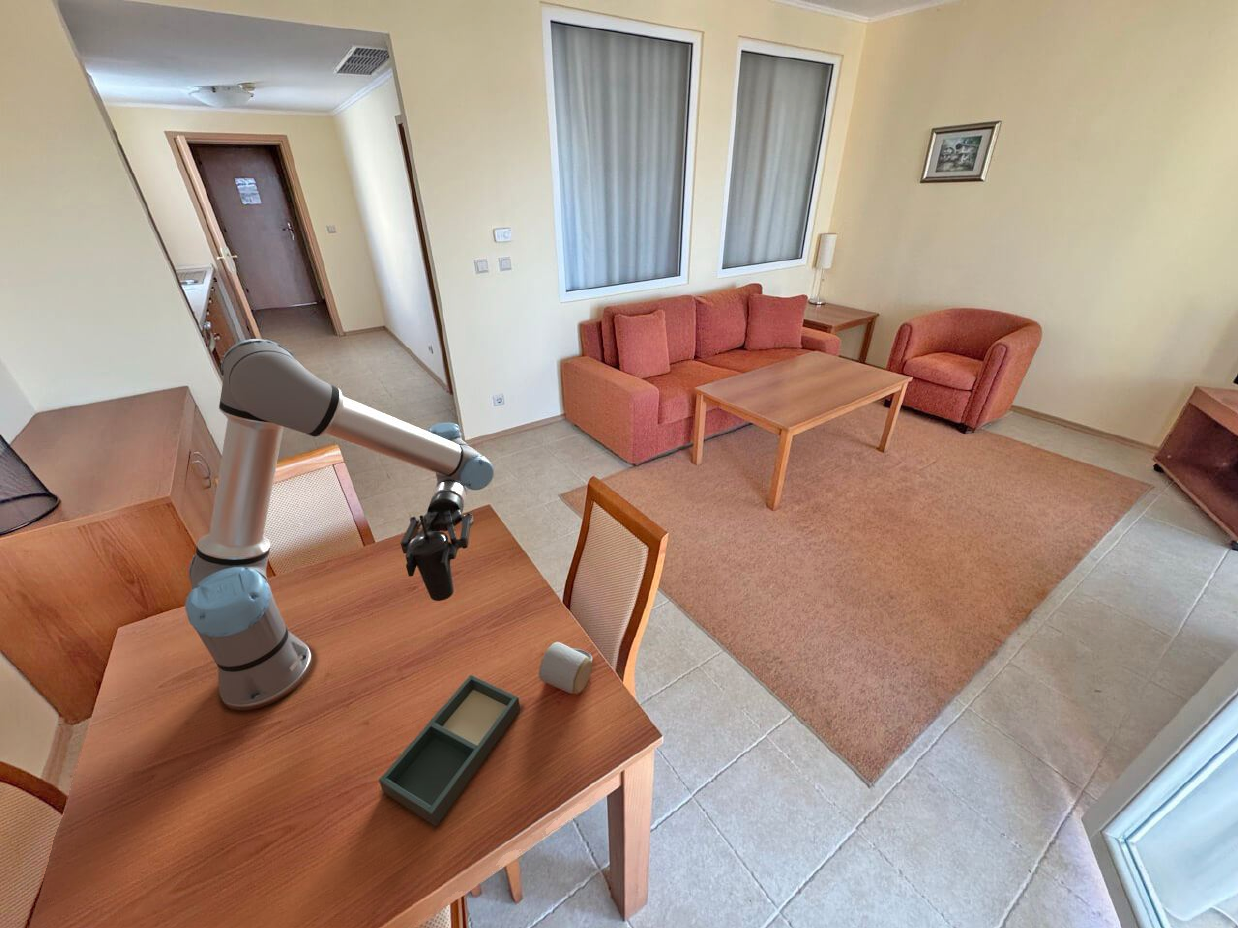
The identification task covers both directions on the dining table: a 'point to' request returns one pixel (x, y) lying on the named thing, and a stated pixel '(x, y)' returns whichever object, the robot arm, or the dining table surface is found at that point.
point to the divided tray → (450, 749)
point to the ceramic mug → (566, 668)
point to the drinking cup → (432, 562)
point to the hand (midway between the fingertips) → (426, 569)
